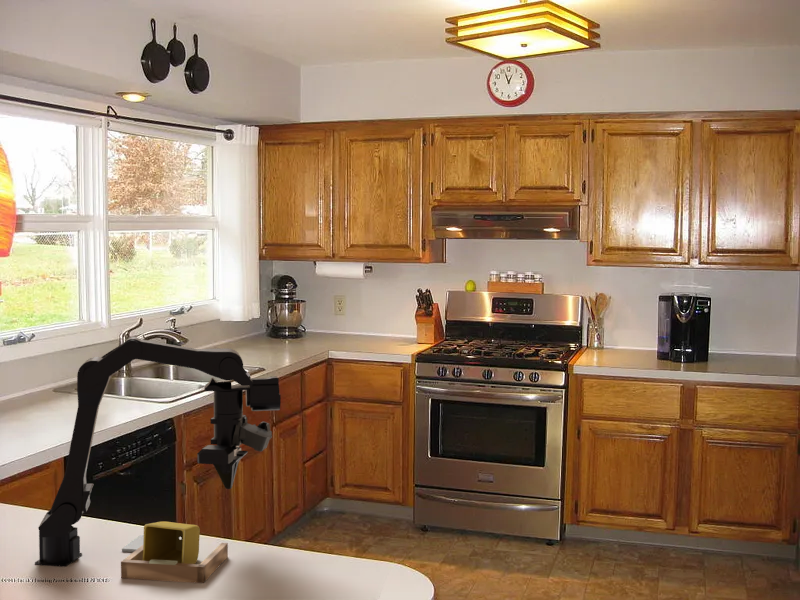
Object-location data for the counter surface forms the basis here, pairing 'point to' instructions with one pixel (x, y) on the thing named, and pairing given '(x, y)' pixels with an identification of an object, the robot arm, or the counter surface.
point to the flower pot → (171, 542)
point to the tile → (134, 544)
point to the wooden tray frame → (172, 567)
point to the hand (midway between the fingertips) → (228, 488)
